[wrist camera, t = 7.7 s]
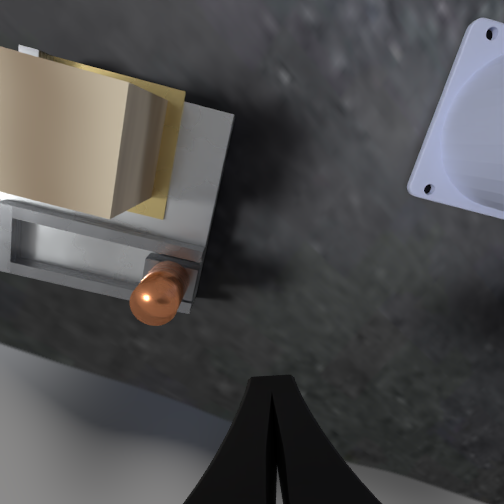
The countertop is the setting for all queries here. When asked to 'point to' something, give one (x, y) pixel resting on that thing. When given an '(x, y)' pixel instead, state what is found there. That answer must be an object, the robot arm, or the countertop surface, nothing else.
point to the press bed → (133, 220)
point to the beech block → (76, 136)
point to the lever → (163, 288)
